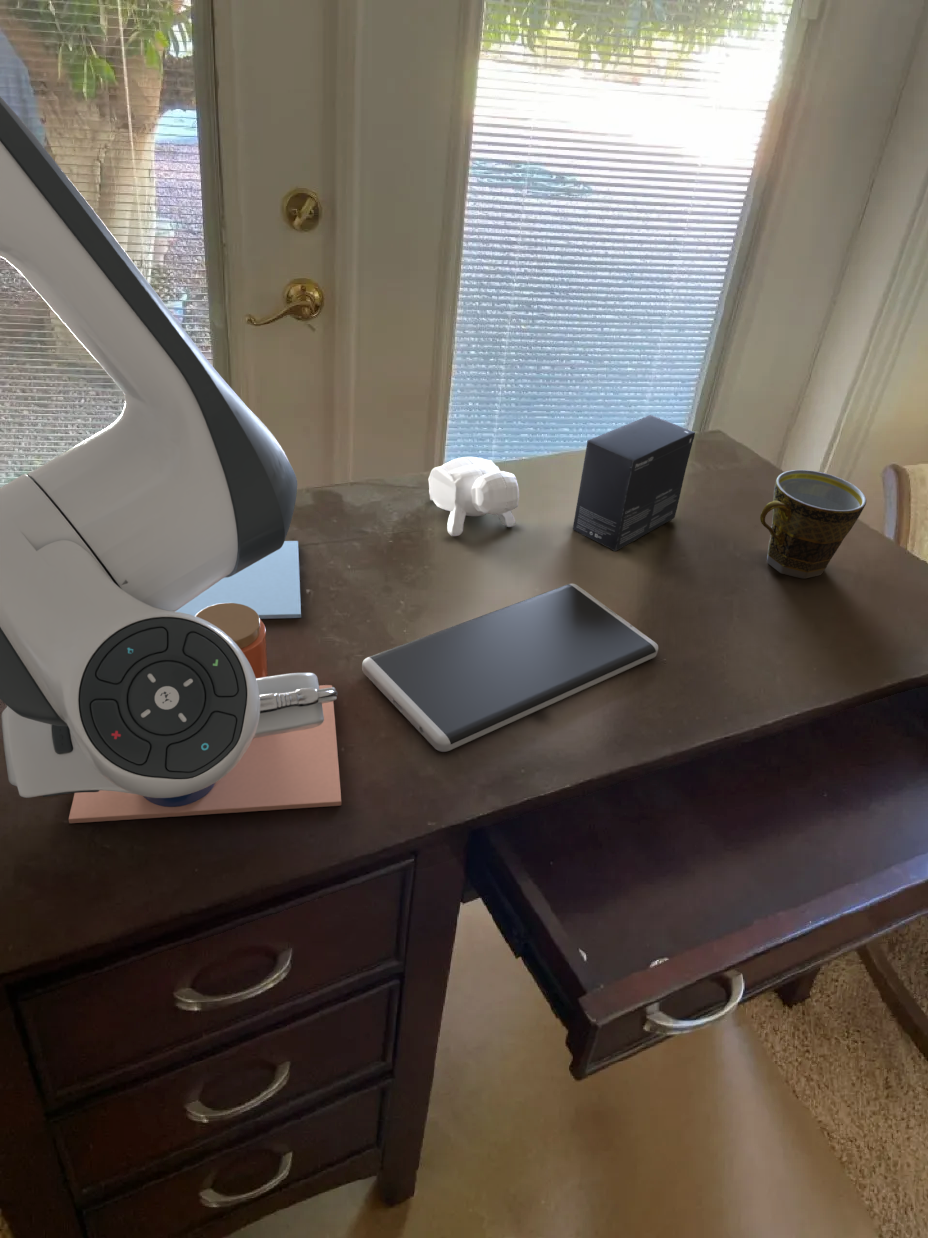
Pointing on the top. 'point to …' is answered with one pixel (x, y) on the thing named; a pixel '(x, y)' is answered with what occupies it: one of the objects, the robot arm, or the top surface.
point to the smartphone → (506, 664)
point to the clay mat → (245, 780)
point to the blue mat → (259, 587)
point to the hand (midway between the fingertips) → (172, 728)
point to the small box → (632, 480)
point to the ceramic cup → (809, 520)
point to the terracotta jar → (241, 631)
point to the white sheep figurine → (473, 491)
